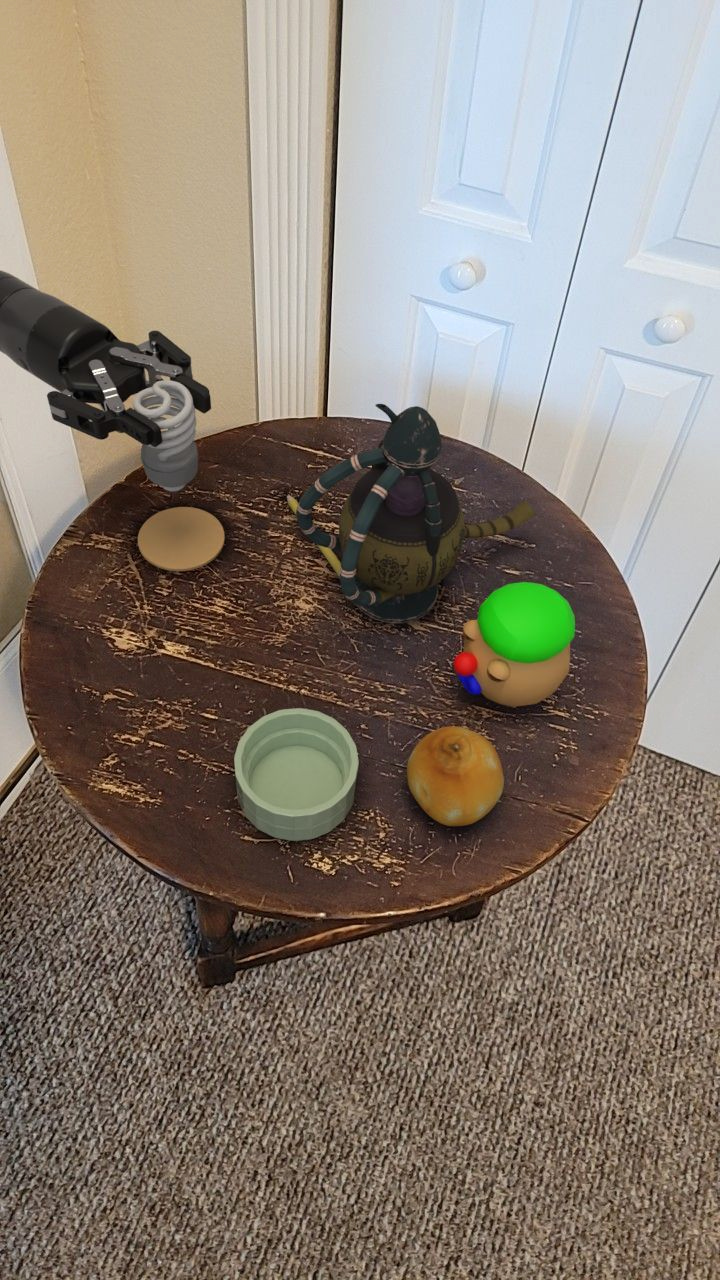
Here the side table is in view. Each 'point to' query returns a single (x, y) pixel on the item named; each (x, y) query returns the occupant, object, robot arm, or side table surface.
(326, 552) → the pencil
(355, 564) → the teapot
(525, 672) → the figurine
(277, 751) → the bowl
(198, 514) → the coaster
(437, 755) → the fruit
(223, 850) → the side table surface
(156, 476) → the light bulb
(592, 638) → the side table surface
